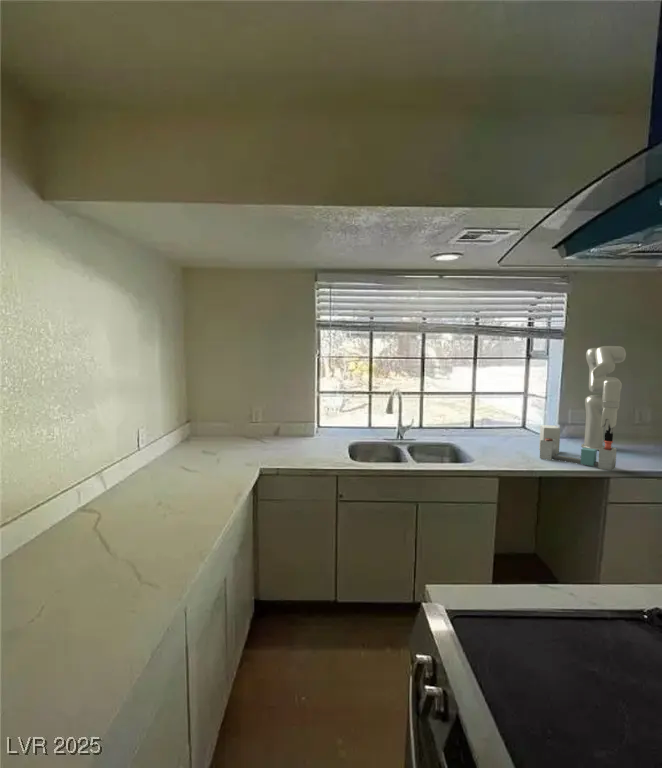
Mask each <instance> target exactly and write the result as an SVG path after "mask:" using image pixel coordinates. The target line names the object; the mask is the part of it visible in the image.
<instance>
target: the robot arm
mask: <svg viewBox="0 0 662 768" xmlns="http://www.w3.org/2000/svg"><path fill="white" fill-rule="evenodd" d="M626 357H627V352H626V349H625V347H623V346H620V345H618V346H617V345H616V346H615V345H603V346H599V347H590V348H588V349H587V350H586V353H585V359H586V362H587V365H588V367H589V368H588V369H589V374H588V391H589V392H591V393H595V394H591V395H588V396H586V397H585V398H584V406H585V425H584V442H583V443H581V445H580V447H581V448H582V449H583V448H591V449H597V451H599V449H600V448H601V447H603V446H604V445H603V444H604V440H605V441H613V439H614V438H613V437H614V436H613V435H614V428H615V427H616V426H617V421H618V419H617V417H618V410H619V409H620V405H621V403H620V401H621V391H622V389H623V383H622V382H621V380H620V379H619V378H617V377H613V376H607V375H608V374H611V373H613V372H614V371H615V369H616V364H620V363H622V362H624V361H625V360H626ZM596 393H597V394H596ZM601 394H602V395H601ZM600 412H602V413H600ZM613 442H614V441H613Z"/></svg>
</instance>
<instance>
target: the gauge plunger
mask: <svg viewBox="0 0 662 768" xmlns="http://www.w3.org/2000/svg"><path fill="white" fill-rule="evenodd" d="M603 443H604V446H605V449H609V450H611V447H612V444H613V443H614V441H605V439H603Z"/></svg>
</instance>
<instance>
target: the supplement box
mask: <svg viewBox="0 0 662 768" xmlns="http://www.w3.org/2000/svg"><path fill="white" fill-rule="evenodd" d="M539 428H540V429H539V441H540V440H542V439H545V438H551V439H556V440H557V450H556V455H559V454H560V443H561V441H560V440H561V427H560V426H559V427H558V426H557V425H555V424H553V425H551V424H549V425H548V424H547V425H546V424H540V425H539ZM538 447H539V448H538V449H539V451H540V442H539V446H538Z"/></svg>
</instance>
